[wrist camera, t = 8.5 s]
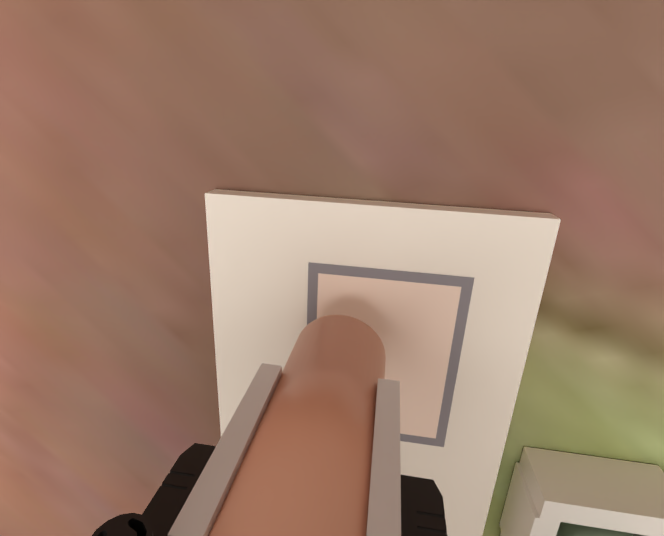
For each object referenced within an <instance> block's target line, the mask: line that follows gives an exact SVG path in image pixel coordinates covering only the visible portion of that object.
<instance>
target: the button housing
mask: <svg viewBox="0 0 664 536" xmlns="http://www.w3.org/2000/svg"><path fill="white" fill-rule="evenodd" d="M561 522H565V523H571V524H577V525H583V526H590V527H596V528H602V529H609V530H615V531H621V532H627V533H633V535H634V536H664V472H663V471H662V469H661V468H660V467H659V465H653V464H645V463H638V462H631V461H624V460H617V459H610V458H603V457H595V456H588V455H581V454H574V453H567V452H560V451H552V450H545V449H538V448H531V447H524V448H523V451H522V455H521V459H520V462H519V463H518V462H516V463H515V467H514V471H513V475H512V478H511V482H510V486H509V490H508V493H507V497H506V501H505V505H504V509H503V512H502V516H501V520H500V524H499V525H500V529H501V533H500V536H556V534H557V531H558V528H559V526H560V523H561Z"/></svg>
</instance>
